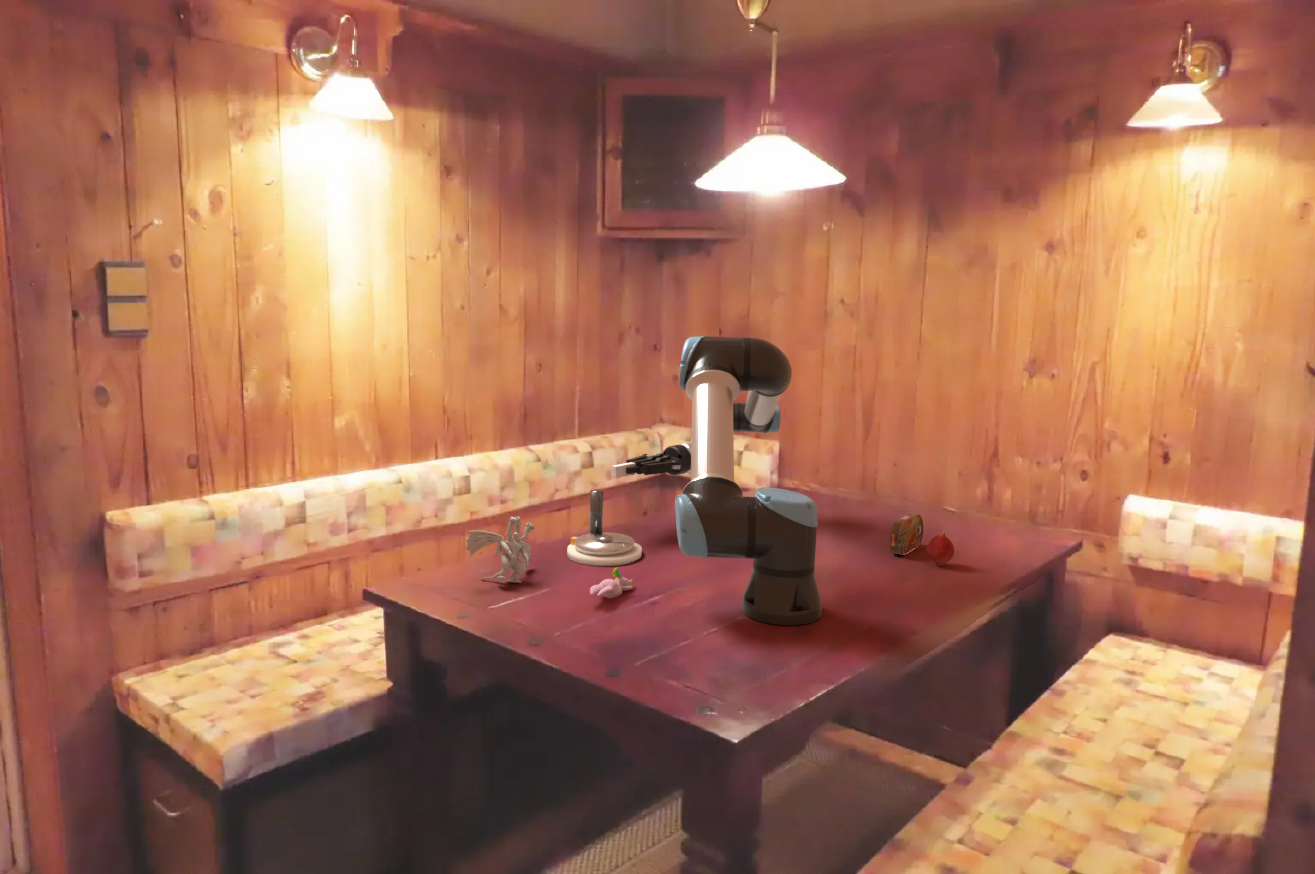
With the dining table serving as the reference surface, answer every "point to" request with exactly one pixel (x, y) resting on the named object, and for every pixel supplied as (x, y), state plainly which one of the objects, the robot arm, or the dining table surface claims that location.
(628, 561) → the dial base
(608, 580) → the rabbit figure
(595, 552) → the dial
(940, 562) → the onion
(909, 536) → the tin
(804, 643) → the dining table surface
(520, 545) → the grey dragon figurine
